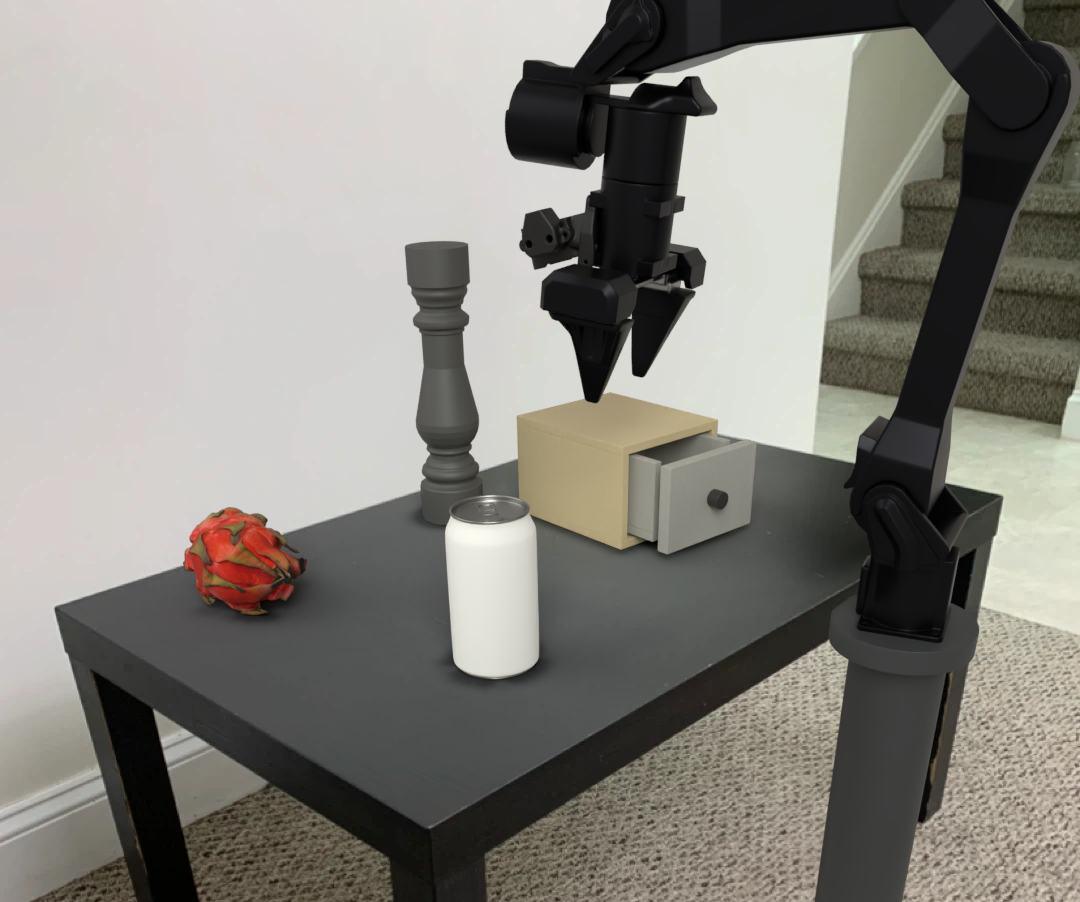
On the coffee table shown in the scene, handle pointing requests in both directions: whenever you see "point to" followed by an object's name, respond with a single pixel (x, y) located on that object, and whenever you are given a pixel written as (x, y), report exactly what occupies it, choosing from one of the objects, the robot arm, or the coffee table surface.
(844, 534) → the coffee table surface
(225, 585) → the dragon fruit
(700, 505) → the grey drawer with knob
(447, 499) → the candle holder
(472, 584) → the can
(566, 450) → the small drawer cabinet
